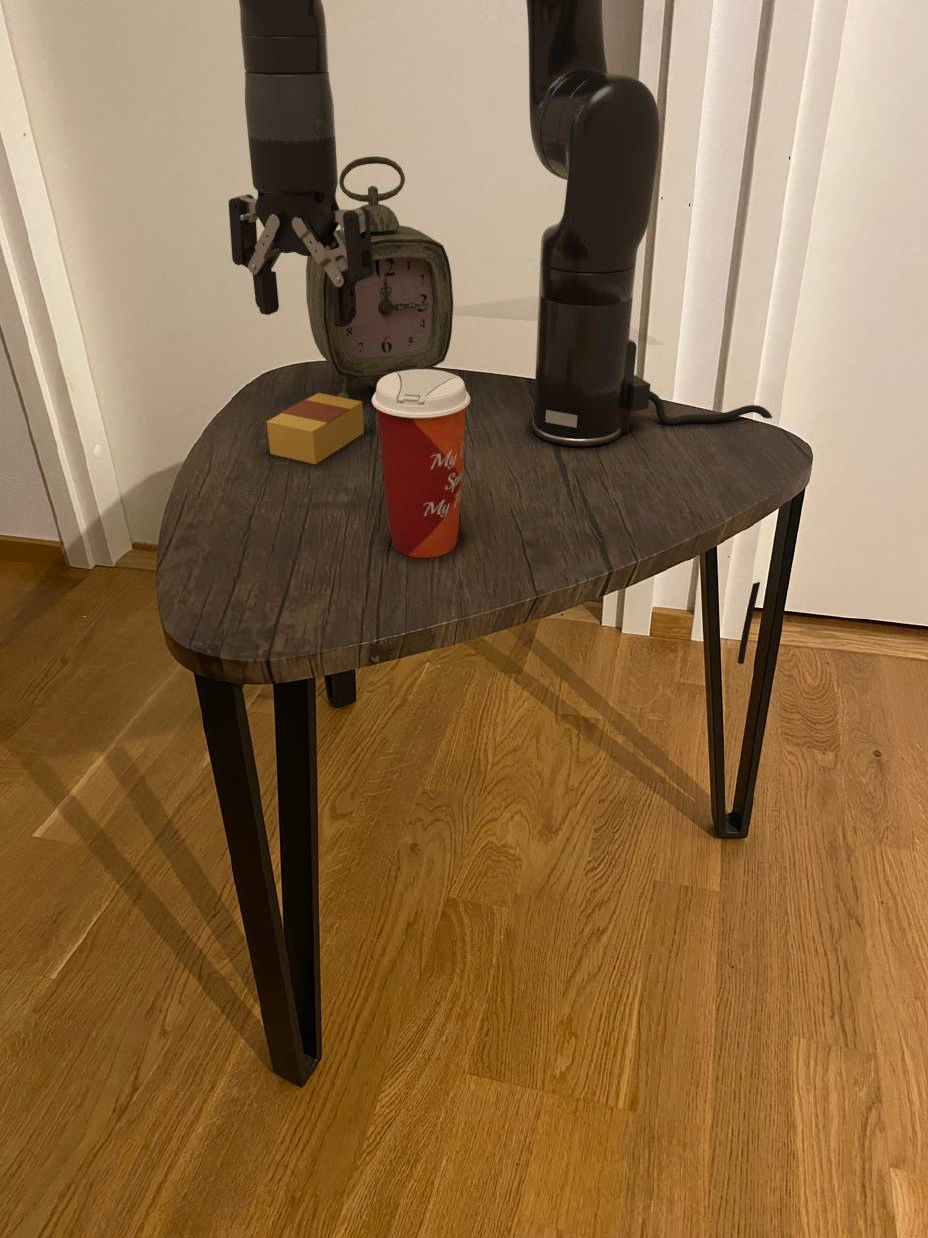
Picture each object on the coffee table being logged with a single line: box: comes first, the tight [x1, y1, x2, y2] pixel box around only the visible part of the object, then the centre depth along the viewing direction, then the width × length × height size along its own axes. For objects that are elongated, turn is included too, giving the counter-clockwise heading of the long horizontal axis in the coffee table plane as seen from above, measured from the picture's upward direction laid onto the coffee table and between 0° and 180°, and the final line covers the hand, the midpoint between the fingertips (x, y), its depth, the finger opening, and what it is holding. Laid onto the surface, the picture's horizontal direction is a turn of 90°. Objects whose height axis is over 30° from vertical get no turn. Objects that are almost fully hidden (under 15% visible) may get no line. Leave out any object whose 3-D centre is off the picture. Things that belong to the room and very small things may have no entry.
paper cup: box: [371, 368, 471, 559], centre depth 80 cm, size 8×8×14 cm
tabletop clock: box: [305, 156, 454, 399], centre depth 106 cm, size 14×9×25 cm, turn 111°
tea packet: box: [266, 392, 365, 465], centre depth 100 cm, size 9×6×4 cm, turn 153°
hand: (305, 318), depth 94 cm, fingers open, 8 cm apart
